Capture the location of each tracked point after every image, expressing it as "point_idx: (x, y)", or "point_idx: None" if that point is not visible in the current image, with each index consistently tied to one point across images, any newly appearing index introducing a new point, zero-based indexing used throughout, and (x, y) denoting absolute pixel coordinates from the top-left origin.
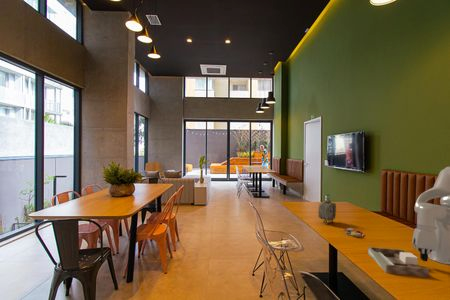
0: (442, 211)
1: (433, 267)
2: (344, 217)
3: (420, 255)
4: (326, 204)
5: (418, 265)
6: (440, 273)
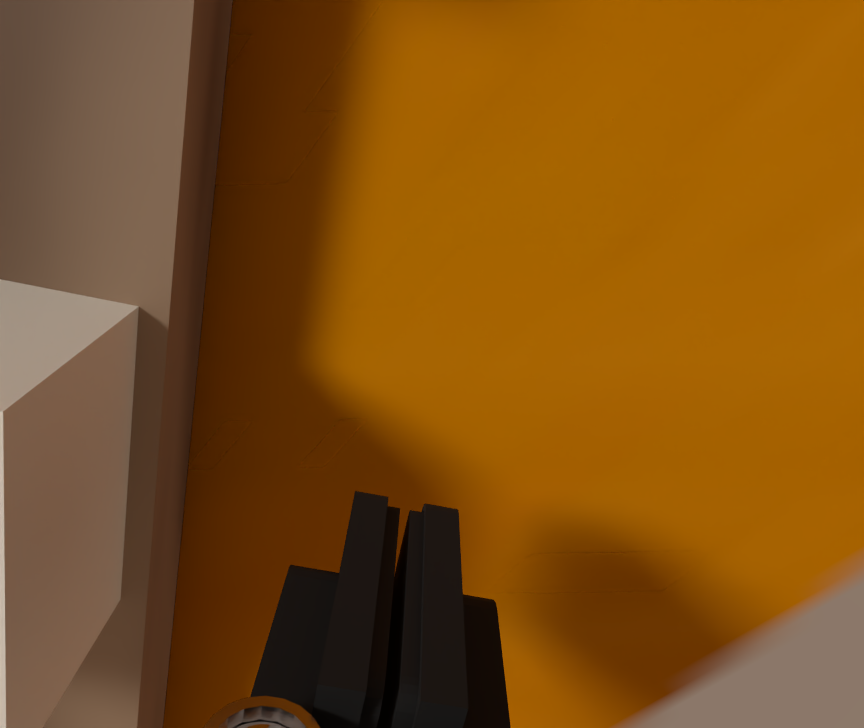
0: None
1: (654, 481)
2: None
3: (273, 633)
4: None
5: (131, 626)
6: (539, 712)
